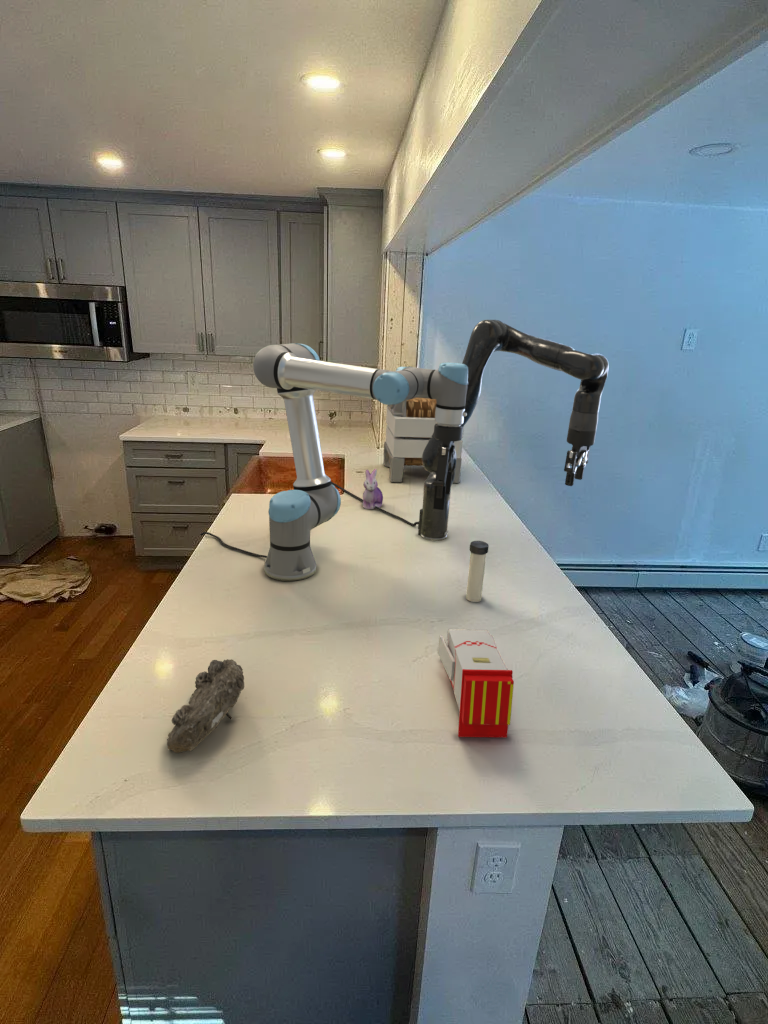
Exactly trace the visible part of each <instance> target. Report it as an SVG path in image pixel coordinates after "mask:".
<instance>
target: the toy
mask: <svg viewBox="0 0 768 1024" xmlns="http://www.w3.org/2000/svg"><path fill="white" fill-rule="evenodd" d="M446 640H447V643H446V641H445V639H444V636H443V635H442V634H439V637H438V646H437V656H438V657H439V659H440V661H441V663H442V666H443V668H444V670H445V672H446V674H447V677H448V679H449V681H450V684H451V687H452V690H453V693H454V697H455V701H456V705H457V708H458V711H459V714H458V715H459V716H458V730H457V731H458V732H457V737H458V738H508V731H509V726H510V725H511V717H512V707H513V697H514V696H513V695H514V684H515V680H514V679H513V673H514V671H513V670H512V669H508V667H507V665H506V662H505V661H504V659H503V658H502V655H501V653H500V651H499V649H498V647H497V643H496V639H495V637H494V635H493V634H491V632H490V631H489V629H467V628H466V629H465V628H463V629H461V628H460V629H459V628H448V630H447V639H446Z"/></svg>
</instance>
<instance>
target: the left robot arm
mask: <svg viewBox="0 0 768 1024" xmlns="http://www.w3.org/2000/svg"><path fill="white" fill-rule="evenodd" d="M252 365H253V366H252V369H253V373H254V375H255V378H256V379H257V380H258V381H259V383H261V384H262V385H264V386H265V387H267V388H269V389H276V392H277V395H278V396H279V397H280V398H282V399H283V403H284V408H285V414H286V421H287V426H288V432H289V439H290V443H291V450H292V456H293V462H294V467H295V474H296V479H295V480H294V482H293V483H292V485H293V489H288V490H282V491H278V492H277V493H275V494H273V496H272V497H271V498H270V499H269V504H268V523H269V548H268V552H267V554H259V553H255V552H252V551H248V550H245V549H242V548H240V547H236V546H232V545H229V544H227V543H225V542H224V541H223V539H222V538H220V537H219V536H217V535H215V534H213V533H211V532H208V531H204V532H201V533H200V534H199V535H200V536H204V535H209V536H211V537H213V538H215V539H217V541H219V543H220V544H222V546H224V547H226V548H229V549H231V550H234V551H238V552H241V553H244V554H247V555H250V556H253V557H257V558H264V559H265V561H264V565H263V566H264V569H263V570H264V574H265V575H266V576H267V577H269V578H270V579H273V580H276V581H282V582H295V581H300V580H305V579H309V578H310V577H311V576H312V577H313V575H315V573H316V572H317V561H316V559H315V555H314V552H313V550H312V546H311V530H313V529H315V528H317V527H318V526H320V525H322V524H324V523H327V522H330V520H331V519H332V518H334V517H335V516H336V515H337V514H338V512H339V510H340V508H341V505H342V499H341V494H340V492H339V489H338V488H337V487H336V486H334V485H333V484H331V482H332V479H331V477H329V476H328V475H327V474H326V472H325V465H324V459H323V452H322V446H321V440H320V432H319V426H318V420H317V419H318V418H317V413H316V407H315V401H314V400H315V399H314V394H315V393H316V391H318V392H324V393H325V392H326V393H331V394H338V395H344V396H350V397H355V398H356V397H358V398H363V399H370V400H375V401H378V402H379V403H380V404H382V405H385V406H387V405H395V404H398V403H401V402H403V401H406V400H410V399H413V398H428V399H436V409H435V422H436V424H435V425H434V438H435V439H437V440H441V441H442V444H440V446H439V449H438V452H439V454H438V464H437V471H436V478H435V482H433V485H435V495H434V507H433V509H440V510H444V502H445V494H449V495H450V496H451V493H450V488H451V489H452V486H451V478H452V472H450V471H455V467H453V456H454V450H455V446H454V442H455V441H460V440H462V439H463V438H462V434H463V435H464V432H463V427H462V424H463V422H464V416H467V413H464V411H465V402H466V393H467V385H468V367H467V366H466V365H465V364H462V363H460V362H449V361H448V362H445V361H444V362H440V363H439V365H438V368H437V369H432V368H431V369H430V368H424V367H423V368H422V367H414V366H399V367H396V369H395V370H390V369H381V368H376V367H368V366H360V365H354V364H353V365H352V364H346V363H338V362H332V361H326V360H325V361H324V360H320V356H319V355H318V353H317V352H316V351H315V350H314V349H313V348H312V347H311V346H310V345H307V344H304V343H298V342H291V343H282V344H268V345H266V346H264V347H262V348H261V349H259V350H258V351H257V353H256V354H255V356H254V359H253V363H252ZM438 480H441V481H438Z"/></svg>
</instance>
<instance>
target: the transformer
mask: <svg viewBox="0 0 768 1024" xmlns="http://www.w3.org/2000/svg"><path fill="white" fill-rule="evenodd" d="M435 409H436V399H428V398H413V399H410V400H406V401H403V402H401V403H398V404H395V405H386V413H385V414H386V415H385V423H386V428H385V438H384V442H383V466H384V467H388V468H389V475H388V476H389V477H388V478H389V480H390V482H391V483H402V482H403V475H404V469H405V466H406V467H407V466H411V467H412V466H413V467H415V466H416V467H417V466H418V467H424V466H423V464H422V454H423V451H424V449H425V447H426V445H427V444H428V442H429V440H430V438H431V436H432V434H433V432H434V425H435V424H436V422H435ZM464 429H465V425H464V426H463V434H462V439H463V438H464V431H465V430H464ZM462 439H461V440H460V441H455V442H454V446H455V451H456V468H455V476H454V481H453V483H452V484H455V483H456V484H459V483H461V472H462V461H463V460H462V453H463V442H464V441H463V440H462Z"/></svg>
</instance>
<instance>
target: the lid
mask: <svg viewBox="0 0 768 1024" xmlns="http://www.w3.org/2000/svg"><path fill="white" fill-rule="evenodd" d="M468 549H469V552H470V553H471V552H472V553H474V554H479V555H483V554H486V555H487V554H488V553H489V549H490V548H489V543H488V542H485V541H484V540H483V541H482V540H472V541H471V542H470V544H469V548H468Z"/></svg>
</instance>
